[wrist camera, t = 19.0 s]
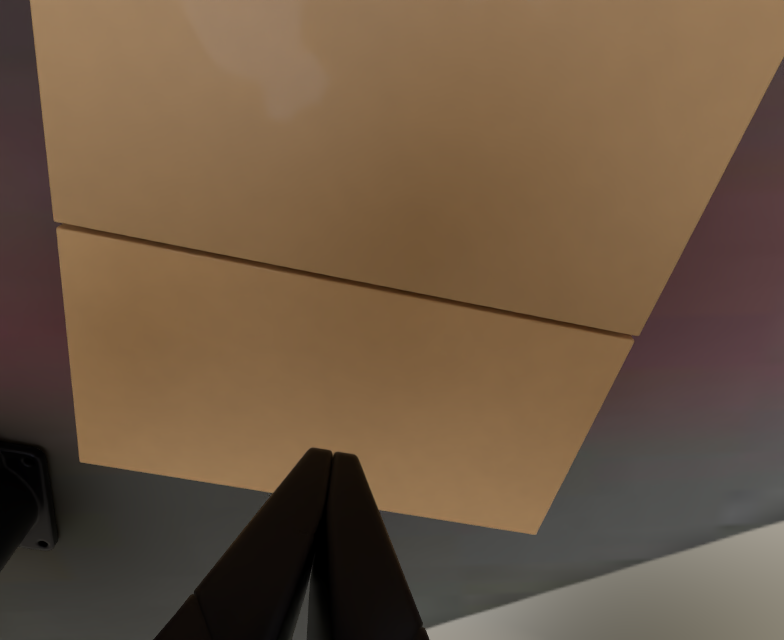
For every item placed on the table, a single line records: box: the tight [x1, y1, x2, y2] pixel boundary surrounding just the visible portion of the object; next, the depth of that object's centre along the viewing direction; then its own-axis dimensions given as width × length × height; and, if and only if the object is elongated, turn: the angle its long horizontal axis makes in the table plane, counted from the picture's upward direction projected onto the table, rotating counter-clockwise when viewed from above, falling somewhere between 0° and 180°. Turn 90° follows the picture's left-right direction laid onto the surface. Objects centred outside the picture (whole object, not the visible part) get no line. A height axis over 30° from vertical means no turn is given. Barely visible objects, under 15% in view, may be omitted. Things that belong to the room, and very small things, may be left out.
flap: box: [56, 223, 634, 535], centre depth 15 cm, size 7×14×1 cm, turn 78°
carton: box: [30, 0, 784, 336], centre depth 15 cm, size 15×14×6 cm
